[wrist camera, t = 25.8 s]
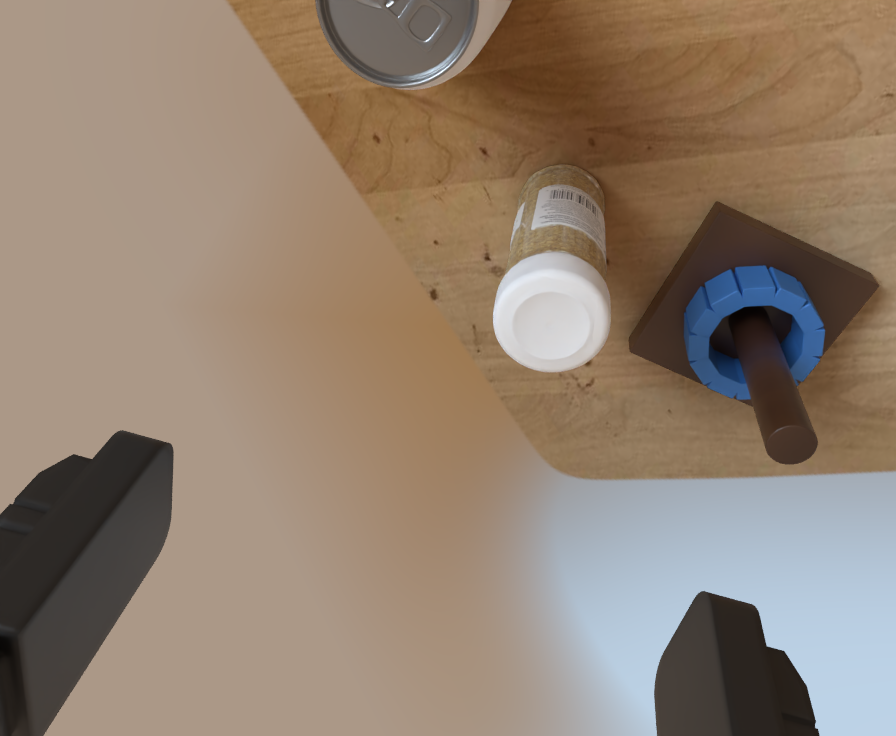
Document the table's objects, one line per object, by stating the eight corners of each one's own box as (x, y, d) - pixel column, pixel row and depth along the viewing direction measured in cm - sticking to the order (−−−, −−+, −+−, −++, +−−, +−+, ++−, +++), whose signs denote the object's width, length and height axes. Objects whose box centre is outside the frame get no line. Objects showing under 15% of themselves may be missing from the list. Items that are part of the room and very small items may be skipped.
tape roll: (661, 344, 44) (664, 369, 41) (727, 245, 40) (734, 266, 38) (765, 390, 44) (774, 417, 42) (839, 297, 41) (852, 321, 39)
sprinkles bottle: (501, 208, 43) (467, 330, 31) (558, 142, 40) (544, 247, 29) (566, 261, 44) (556, 397, 32) (625, 199, 41) (637, 322, 30)
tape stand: (628, 338, 45) (638, 478, 35) (716, 200, 41) (758, 314, 30) (768, 401, 46) (819, 556, 36) (871, 273, 41) (965, 409, 31)
